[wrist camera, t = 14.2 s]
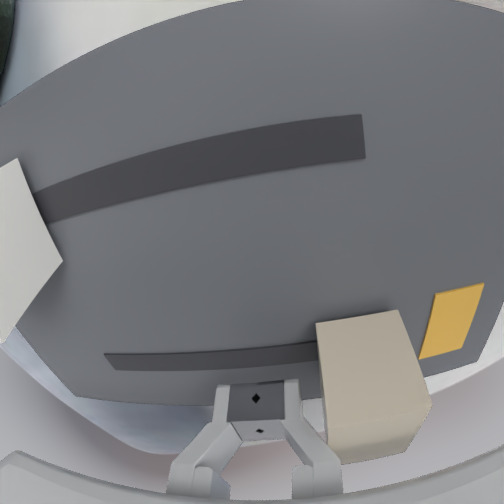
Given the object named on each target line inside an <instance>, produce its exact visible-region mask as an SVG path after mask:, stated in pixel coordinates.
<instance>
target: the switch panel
mask: <svg viewBox="0 0 504 504" xmlns="http://www.w3.org/2000/svg"><path fill="white" fill-rule="evenodd" d="M16 158H18V161H19V163H20V166H21V169H22V172H23V174H24V177H25V179H26V182H27V185H28V187H29V189H30V192H31V194H32V197H33V199H34V201H35V204H36V206H37V208H38V211H39V213H40V215H41V217H42V219H43V222H44V224H45V226H46V228H47V230H48V232H49V234H50V236H51V238H52V240H53V242H54V244H55V246H56V248H57V250H58V252H59V254H60V256H61V258H62V260H63V262H62V263H61V264H60V265H59V267H58V268H57V269H56V270H55V272H54V273H53V274H52V275H51V277H50V278H49V279H48V281H47V282H46V283H45V284H44V286H43V287H42V288H41V290H40V291H39V292H38V294H37V295H36V297H35V298H34V299H33V301H32V302H31V303H30V305H29V306H28V308H27V309H26V310H25V312H24V313H23V315H22V316H21V318H20V319H19V321H18V322H17V324H16V325H15V326H16V327H17V329H18V330H19V331H20V333H21V334H22V335H23V337H24V338H25V339H26V341H27V342H28V343H29V344H30V346H31V347H32V348H33V349H34V351H35V352H36V353H37V354H38V355H39V357H40V358H41V359H42V360H43V361H44V363H45V364H46V365H47V366H48V367H49V368H50V369H51V371H52V372H53V373H54V374H55V375H56V376H57V377H58V378H59V379H60V380H61V382H62V383H63V384H64V385H65V386H66V387H67V388H68V389H69V390H70V391H71V392H72V393H73V394H74V395H75V396H77V397H84V398H91V399H99V400H108V401H117V402H128V403H141V404H158V405H190V406H213V405H214V402H215V395H216V388H217V386H218V385H219V384H242V383H257V382H266V381H276V380H287V379H295V378H298V379H299V384H300V390H301V398H302V400H306V399H314V398H322V396H321V386H320V373H319V359H318V347H317V335H316V324H315V323H320V322H327V321H334V320H340V319H346V318H353V317H359V316H364V315H370V314H376V313H381V312H387V311H392V310H397V309H398V311H399V314H400V316H401V318H402V321H403V323H404V326H405V328H406V331H407V334H408V336H409V339H410V341H411V344H412V347H413V349H414V352H415V355H416V358H417V360H418V363H419V366H420V369H421V372H422V375H423V377H428V376H431V375H435V374H439V373H442V372H446V371H449V370H452V369H456V368H459V367H462V366H465V365H468V364H471V363H474V362H477V360H478V358H479V356H480V354H481V352H482V350H483V348H484V346H485V344H486V342H487V340H488V338H489V335H490V333H491V331H492V329H493V326H494V324H495V322H496V319H497V317H498V314H499V312H500V309H501V307H502V304H503V302H504V13H502V12H499V11H495V10H492V9H488V8H485V7H481V6H477V5H473V4H469V3H464V2H460V1H455V0H242V1H237V2H232V3H227V4H223V5H219V6H214V7H210V8H206V9H203V10H199V11H195V12H192V13H188V14H185V15H181V16H178V17H175V18H172V19H169V20H166V21H163V22H160V23H157V24H154V25H151V26H149V27H146V28H143V29H141V30H138V31H135V32H133V33H130V34H128V35H126V36H123V37H121V38H118V39H116V40H114V41H112V42H109V43H107V44H105V45H103V46H101V47H99V48H97V49H94V50H92V51H90V52H88V53H86V54H84V55H82V56H80V57H79V58H77V59H75V60H73V61H71V62H69V63H67V64H66V65H64V66H62V67H60V68H59V69H57V70H55V71H53V72H52V73H50V74H48V75H47V76H45V77H43V78H42V79H40V80H39V81H37V82H35V83H34V84H32V85H31V86H29V87H28V88H26V89H25V90H23V91H22V92H20V93H19V94H18V95H16V96H15V97H13V98H12V99H10V100H9V101H8V102H6V103H5V104H4V105H2V106H1V107H0V168H1V167H2V166H4V165H6V164H7V163H9V162H11V161H13V160H14V159H16Z"/></svg>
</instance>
